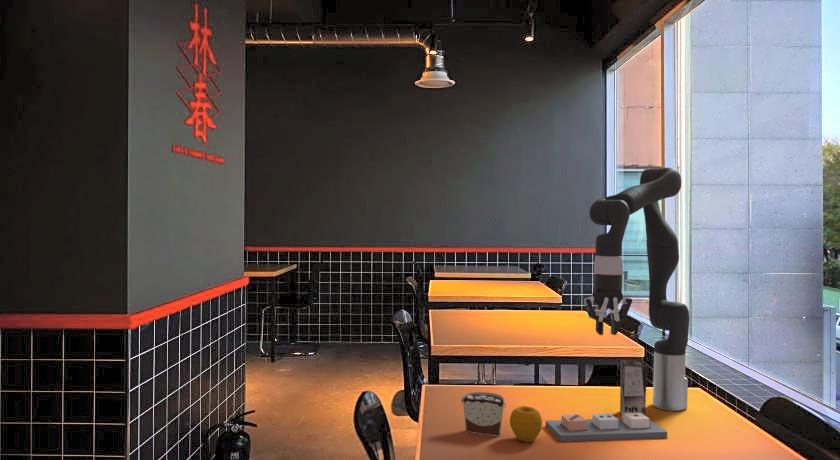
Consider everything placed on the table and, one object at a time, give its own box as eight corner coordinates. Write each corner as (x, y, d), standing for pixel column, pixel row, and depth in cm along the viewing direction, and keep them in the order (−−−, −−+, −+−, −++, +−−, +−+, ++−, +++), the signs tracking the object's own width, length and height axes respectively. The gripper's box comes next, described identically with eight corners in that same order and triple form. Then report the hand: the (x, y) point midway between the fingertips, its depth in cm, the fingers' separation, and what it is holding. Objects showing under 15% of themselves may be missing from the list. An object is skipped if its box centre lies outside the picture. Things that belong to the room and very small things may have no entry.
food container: (509, 429, 173) (510, 394, 172) (505, 437, 167) (505, 400, 167) (466, 424, 177) (466, 389, 176) (460, 431, 171) (461, 395, 171)
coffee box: (646, 422, 181) (647, 367, 180) (623, 420, 182) (624, 365, 182) (641, 412, 190) (642, 360, 189) (619, 411, 191) (620, 358, 190)
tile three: (579, 423, 174) (579, 413, 174) (586, 430, 169) (586, 419, 168) (561, 424, 173) (561, 414, 173) (568, 430, 168) (568, 420, 168)
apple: (507, 434, 169) (508, 401, 169) (538, 434, 169) (539, 402, 169) (511, 445, 161) (511, 411, 161) (544, 446, 160) (544, 412, 160)
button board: (645, 423, 180) (645, 417, 180) (667, 437, 168) (667, 431, 168) (545, 426, 176) (545, 420, 176) (560, 441, 164) (560, 435, 164)
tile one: (640, 421, 176) (640, 411, 176) (649, 427, 171) (649, 417, 171) (622, 422, 175) (622, 412, 175) (631, 428, 170) (631, 418, 170)
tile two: (609, 422, 175) (610, 412, 175) (618, 428, 170) (618, 418, 170) (592, 423, 174) (592, 413, 174) (600, 429, 169) (600, 419, 169)
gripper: (626, 271, 176) (624, 331, 176) (578, 271, 174) (577, 332, 174) (638, 273, 168) (637, 336, 169) (589, 273, 166) (587, 337, 167)
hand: (606, 334), depth 171 cm, fingers open, 3 cm apart
